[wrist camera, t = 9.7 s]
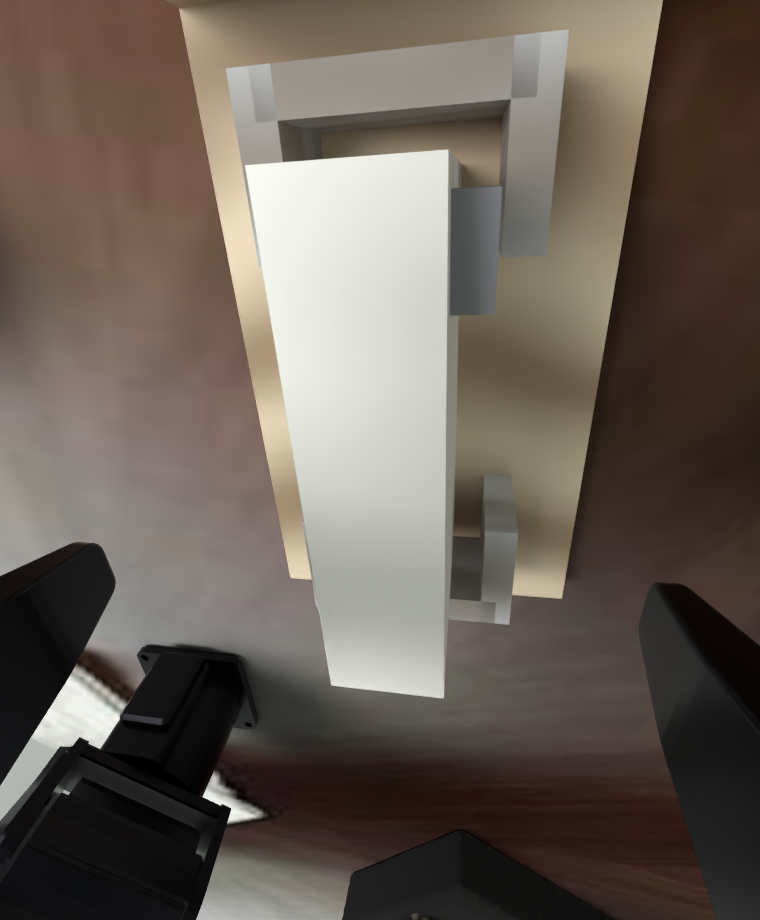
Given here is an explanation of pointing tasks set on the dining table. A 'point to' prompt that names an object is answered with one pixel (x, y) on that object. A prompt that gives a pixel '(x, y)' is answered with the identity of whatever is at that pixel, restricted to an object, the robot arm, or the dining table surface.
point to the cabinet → (483, 164)
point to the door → (376, 388)
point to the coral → (458, 887)
